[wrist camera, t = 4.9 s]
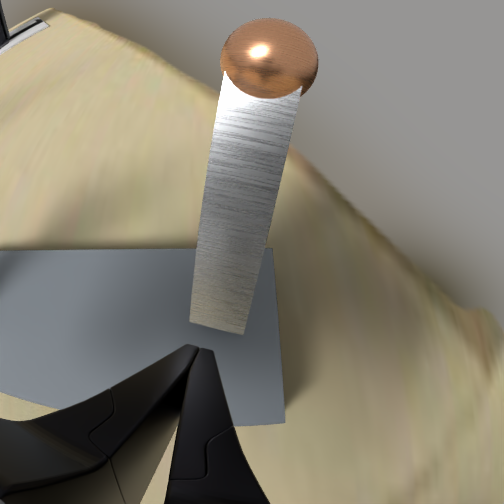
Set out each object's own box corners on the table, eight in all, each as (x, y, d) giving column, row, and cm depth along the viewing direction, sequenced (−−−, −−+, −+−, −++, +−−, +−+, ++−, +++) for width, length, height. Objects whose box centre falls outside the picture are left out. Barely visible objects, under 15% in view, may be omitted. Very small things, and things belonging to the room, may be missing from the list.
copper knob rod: (250, 350, 12) (332, 17, 6) (175, 331, 12) (221, 0, 6) (258, 304, 14) (321, 41, 9) (195, 288, 15) (239, 26, 9)
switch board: (276, 418, 14) (285, 422, 12) (-36, 373, 12) (-57, 367, 10) (266, 266, 18) (272, 248, 16) (-20, 265, 16) (-37, 251, 14)
